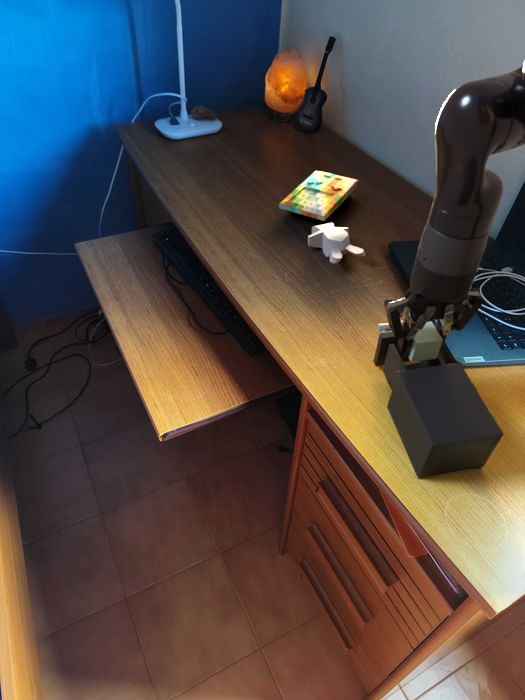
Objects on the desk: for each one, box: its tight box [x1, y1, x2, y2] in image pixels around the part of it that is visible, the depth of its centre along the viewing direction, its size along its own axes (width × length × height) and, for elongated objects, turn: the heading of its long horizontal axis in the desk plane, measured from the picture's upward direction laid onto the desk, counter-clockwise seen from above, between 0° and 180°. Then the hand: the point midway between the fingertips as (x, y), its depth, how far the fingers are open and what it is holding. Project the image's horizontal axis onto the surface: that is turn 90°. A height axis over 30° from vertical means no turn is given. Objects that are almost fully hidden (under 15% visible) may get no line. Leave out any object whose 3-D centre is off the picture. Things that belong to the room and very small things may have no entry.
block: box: [408, 321, 443, 363], centre depth 69 cm, size 4×4×4 cm
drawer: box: [372, 320, 447, 391], centre depth 74 cm, size 16×8×7 cm, turn 9°
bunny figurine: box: [307, 222, 366, 264], centre depth 101 cm, size 10×5×15 cm
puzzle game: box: [278, 170, 359, 222], centre depth 115 cm, size 12×5×20 cm
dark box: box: [386, 362, 504, 479], centre depth 66 cm, size 13×10×9 cm
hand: (418, 349), depth 70 cm, fingers closed on block, 4 cm apart
